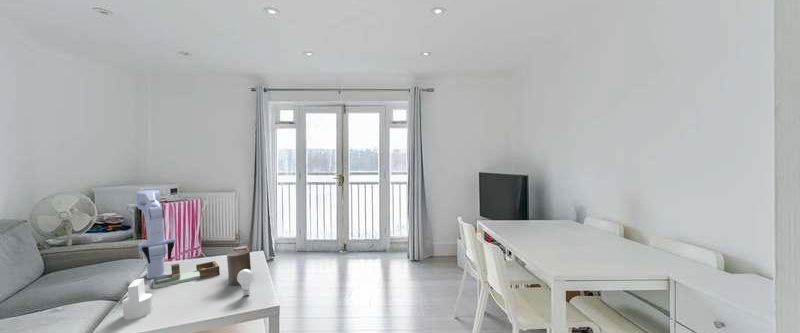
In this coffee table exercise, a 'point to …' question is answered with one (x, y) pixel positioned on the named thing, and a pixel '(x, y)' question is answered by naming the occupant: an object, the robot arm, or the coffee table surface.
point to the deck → (180, 279)
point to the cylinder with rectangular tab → (137, 301)
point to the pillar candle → (237, 264)
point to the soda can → (241, 248)
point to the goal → (208, 269)
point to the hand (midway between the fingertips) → (159, 261)
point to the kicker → (175, 270)
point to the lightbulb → (245, 280)
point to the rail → (165, 279)
